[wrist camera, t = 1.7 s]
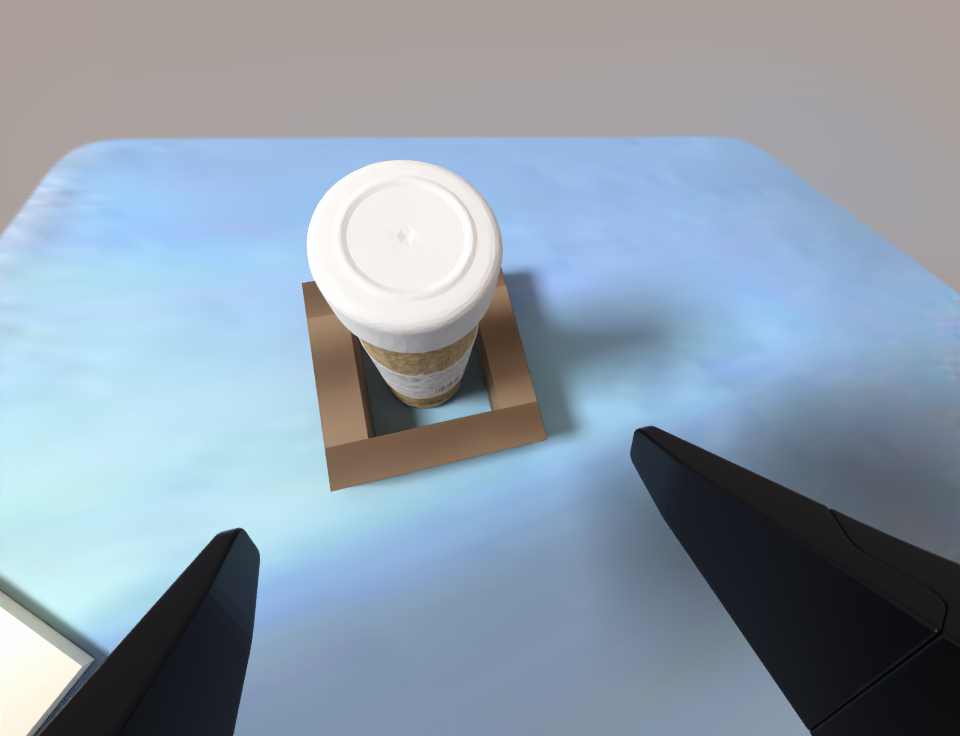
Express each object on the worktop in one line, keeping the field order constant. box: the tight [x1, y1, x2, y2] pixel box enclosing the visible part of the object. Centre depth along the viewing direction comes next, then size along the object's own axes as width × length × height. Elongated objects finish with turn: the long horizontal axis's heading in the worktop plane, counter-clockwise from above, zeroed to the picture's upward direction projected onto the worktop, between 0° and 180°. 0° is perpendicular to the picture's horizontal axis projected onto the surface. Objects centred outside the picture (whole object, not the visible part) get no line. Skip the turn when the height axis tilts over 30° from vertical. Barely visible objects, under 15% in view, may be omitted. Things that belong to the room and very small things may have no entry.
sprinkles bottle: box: [307, 160, 503, 408], centre depth 15 cm, size 5×5×13 cm
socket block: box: [302, 268, 547, 491], centre depth 20 cm, size 11×11×2 cm
